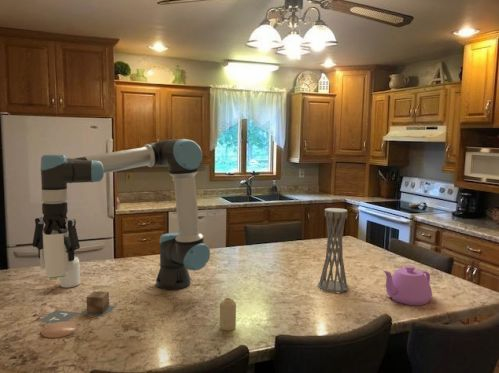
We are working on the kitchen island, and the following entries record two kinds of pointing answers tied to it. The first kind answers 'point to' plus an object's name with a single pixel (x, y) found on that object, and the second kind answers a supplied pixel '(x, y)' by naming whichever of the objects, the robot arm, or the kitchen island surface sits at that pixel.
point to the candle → (227, 314)
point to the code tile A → (58, 316)
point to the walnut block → (97, 302)
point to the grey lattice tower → (334, 252)
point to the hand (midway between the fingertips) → (56, 269)
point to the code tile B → (98, 313)
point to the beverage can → (72, 275)
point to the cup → (54, 254)
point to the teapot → (409, 286)
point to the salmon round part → (59, 329)
